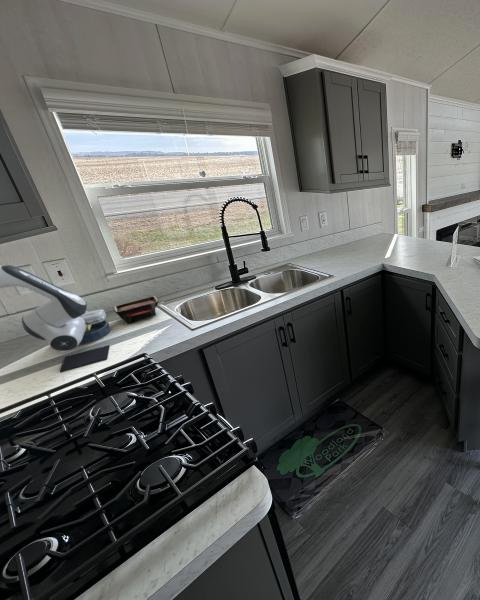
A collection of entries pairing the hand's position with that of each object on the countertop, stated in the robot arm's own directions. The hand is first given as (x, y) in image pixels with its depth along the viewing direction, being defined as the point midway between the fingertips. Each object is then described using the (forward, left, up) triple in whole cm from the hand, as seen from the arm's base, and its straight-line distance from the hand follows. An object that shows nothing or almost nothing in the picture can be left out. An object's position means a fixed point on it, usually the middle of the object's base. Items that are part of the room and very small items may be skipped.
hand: (77, 314), depth 143 cm
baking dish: (+21, -3, -11) cm, 24 cm away
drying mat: (-11, -22, -11) cm, 26 cm away
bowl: (-1, -1, -11) cm, 11 cm away
